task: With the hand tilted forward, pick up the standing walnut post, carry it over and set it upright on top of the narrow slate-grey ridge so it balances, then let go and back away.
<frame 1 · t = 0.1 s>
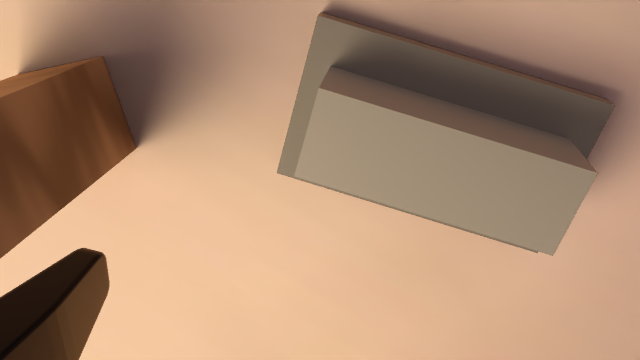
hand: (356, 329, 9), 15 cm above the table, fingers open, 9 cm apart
grey ridge: (433, 133, 24), on the table
walnut post: (77, 112, 26), on the table
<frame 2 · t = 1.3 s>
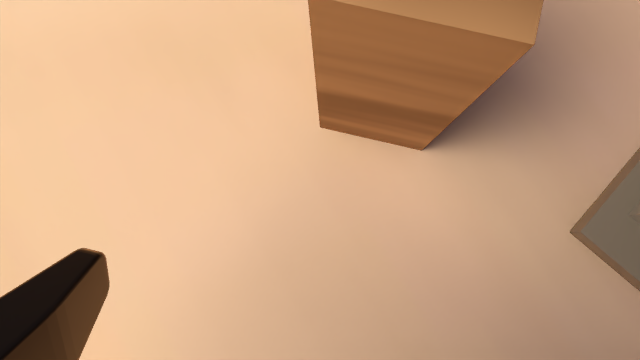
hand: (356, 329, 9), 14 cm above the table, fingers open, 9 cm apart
walnut post: (382, 89, 24), on the table
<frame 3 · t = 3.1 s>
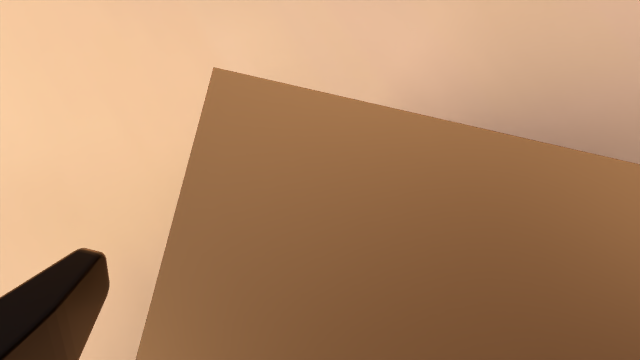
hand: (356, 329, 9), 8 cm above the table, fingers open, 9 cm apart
walnut post: (346, 275, 18), on the table
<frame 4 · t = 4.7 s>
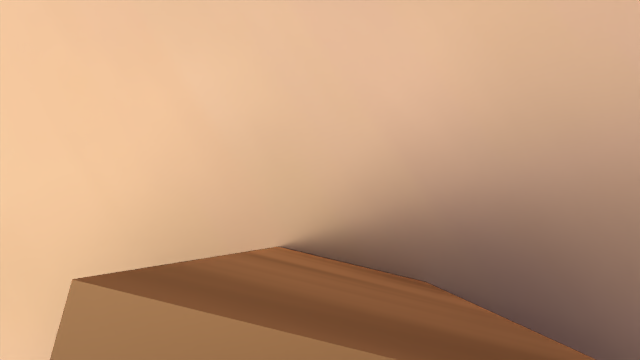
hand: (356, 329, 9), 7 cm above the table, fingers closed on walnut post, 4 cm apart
walnut post: (334, 339, 16), on the table, touching gripper
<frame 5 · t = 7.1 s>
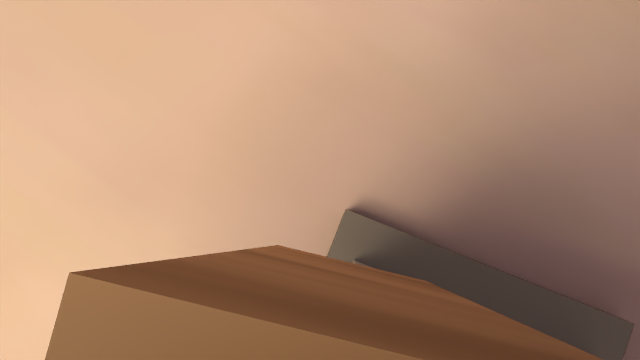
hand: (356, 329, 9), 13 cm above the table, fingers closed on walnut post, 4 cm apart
grey ridge: (451, 345, 22), on the table
walnut post: (333, 338, 16), point 7 cm above the table, touching gripper
when the fingers open (12 cm above the table, at t = 9.6 s): walnut post stays where it is, resting on grey ridge.
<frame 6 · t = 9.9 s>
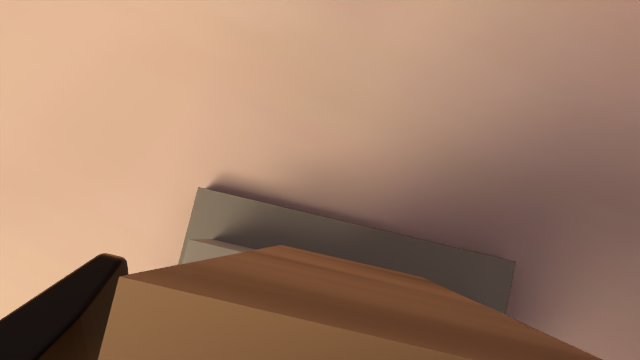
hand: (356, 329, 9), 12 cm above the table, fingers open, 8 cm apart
grey ridge: (333, 314, 21), on the table
walnut post: (335, 333, 17), point 5 cm above the table, touching grey ridge
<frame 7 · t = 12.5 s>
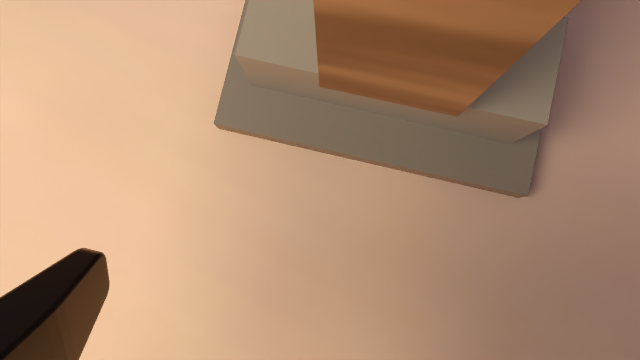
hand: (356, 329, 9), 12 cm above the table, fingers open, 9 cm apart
grey ridge: (386, 77, 22), on the table
walnut post: (402, 35, 18), point 4 cm above the table, touching grey ridge
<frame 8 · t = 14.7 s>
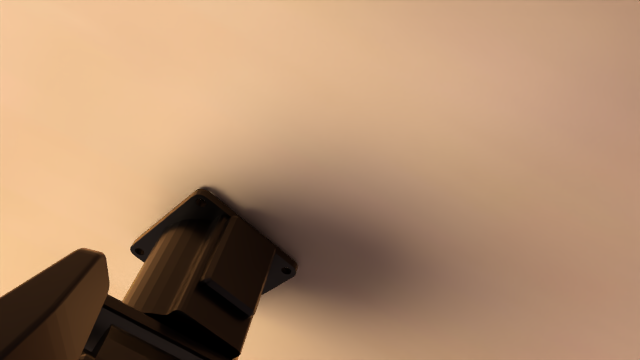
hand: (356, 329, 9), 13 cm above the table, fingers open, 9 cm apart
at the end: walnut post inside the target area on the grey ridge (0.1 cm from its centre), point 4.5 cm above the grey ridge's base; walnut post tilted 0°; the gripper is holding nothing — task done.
